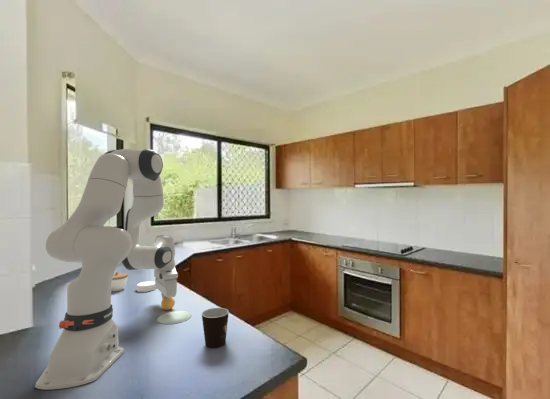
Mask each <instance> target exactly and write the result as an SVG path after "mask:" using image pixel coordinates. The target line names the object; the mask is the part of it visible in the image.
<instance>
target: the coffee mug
mask: <svg viewBox="0 0 550 399" xmlns="http://www.w3.org/2000/svg"><path fill="white" fill-rule="evenodd" d="M229 311H230V310H229V309H227V308H226V307H225V308H223V307H211V308H208V309H205V310H204V311H202V312H201V318H202V328H203V336H204V337H203V338H204V342H205V343H204V344H205V347H206V348H208V349H219V348H222V347H224V346H225V345H226V340H227V332H228V323H229V322H228V321H229Z"/></svg>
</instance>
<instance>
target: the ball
mask: <svg viewBox="0 0 550 399" xmlns="http://www.w3.org/2000/svg"><path fill="white" fill-rule="evenodd" d="M160 302H161V303H160V304H161V308H162V309H163V310H165V311H169V310H171V309H173V308H174V306H175V304H176V300H175V298H174V297H172V298H167V297H165V298H164V299H163V300H162V299H161V301H160Z"/></svg>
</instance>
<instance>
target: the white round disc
mask: <svg viewBox="0 0 550 399" xmlns="http://www.w3.org/2000/svg"><path fill="white" fill-rule="evenodd" d="M155 290H157V288H156V286H155V280H148V281H141V282H139V283H137V284H136V291H137V292H139V293H146V292H147V293H148V292H152V291H155Z"/></svg>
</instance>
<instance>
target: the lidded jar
mask: <svg viewBox="0 0 550 399" xmlns="http://www.w3.org/2000/svg"><path fill="white" fill-rule="evenodd" d="M127 283H128V273H125V272H119V273H118V271H115V272H114V275H113V278H112V285H111V292H119V291H122V290H124V288H125V287H126V286H127Z"/></svg>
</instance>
